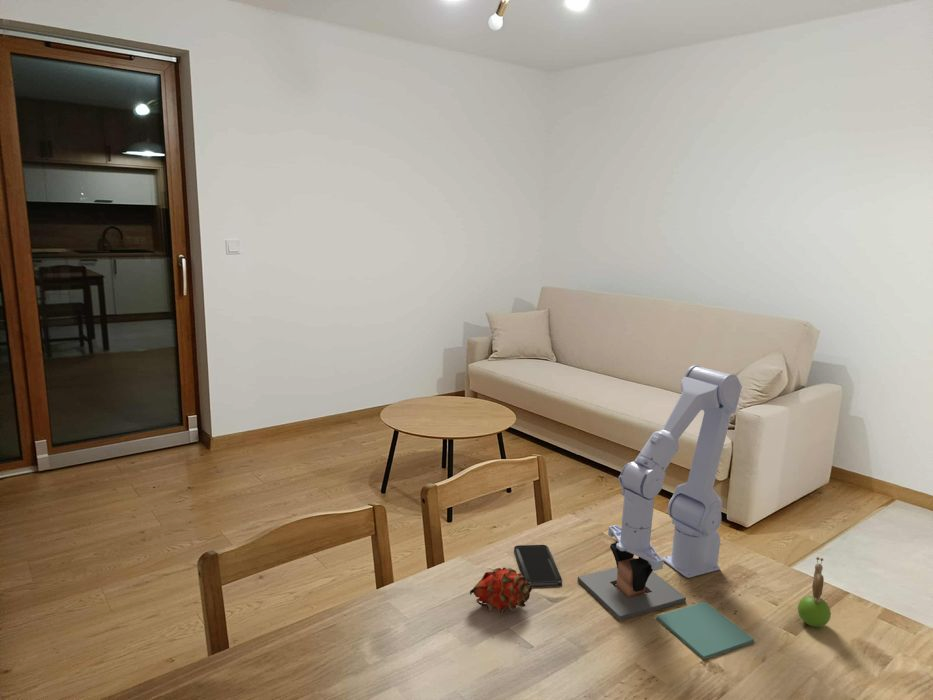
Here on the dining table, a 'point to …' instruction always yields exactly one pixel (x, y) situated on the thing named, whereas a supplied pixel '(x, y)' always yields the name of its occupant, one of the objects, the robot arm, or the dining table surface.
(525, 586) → the dragon fruit
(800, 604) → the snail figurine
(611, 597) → the charcoal pocket board
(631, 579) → the terracotta block
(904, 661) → the dining table surface
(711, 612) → the teal mat
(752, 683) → the dining table surface
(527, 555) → the phone
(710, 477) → the robot arm
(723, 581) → the dining table surface
